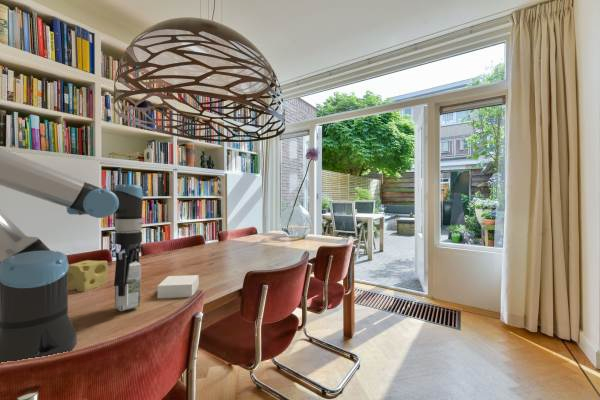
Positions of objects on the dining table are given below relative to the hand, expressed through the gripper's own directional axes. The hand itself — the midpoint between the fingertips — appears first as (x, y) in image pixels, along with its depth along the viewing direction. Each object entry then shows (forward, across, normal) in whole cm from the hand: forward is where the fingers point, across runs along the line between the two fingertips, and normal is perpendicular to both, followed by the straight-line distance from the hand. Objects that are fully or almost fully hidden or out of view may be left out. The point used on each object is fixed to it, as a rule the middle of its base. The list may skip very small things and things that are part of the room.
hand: (127, 300), depth 89 cm
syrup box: (+2, 0, 0) cm, 2 cm away
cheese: (+3, +28, +25) cm, 38 cm away
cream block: (+3, +14, -13) cm, 20 cm away
